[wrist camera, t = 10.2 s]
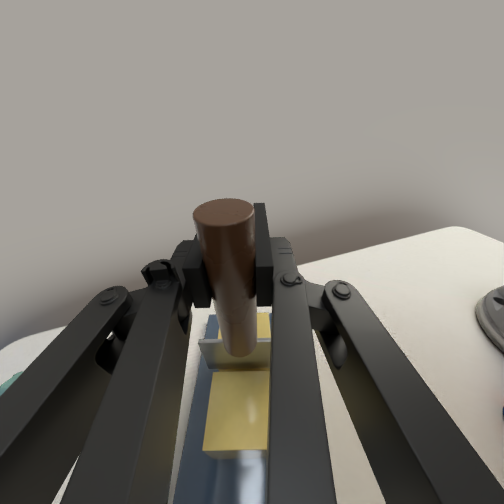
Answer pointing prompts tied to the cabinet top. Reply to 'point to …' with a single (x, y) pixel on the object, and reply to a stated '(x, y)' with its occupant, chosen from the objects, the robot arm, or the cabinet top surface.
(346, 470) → the cabinet top surface
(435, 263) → the cabinet top surface
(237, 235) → the scraper
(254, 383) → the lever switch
